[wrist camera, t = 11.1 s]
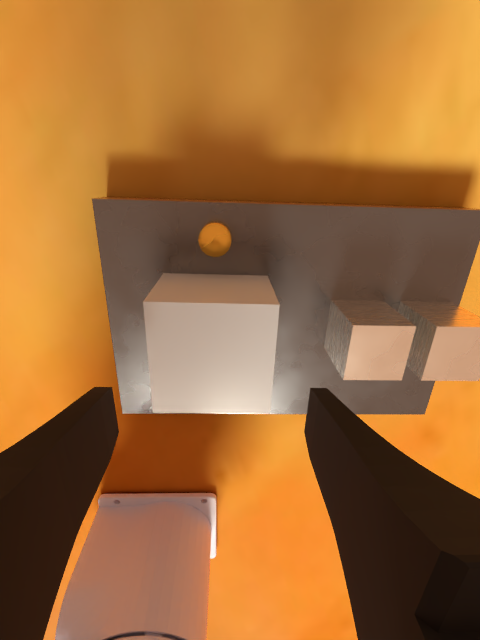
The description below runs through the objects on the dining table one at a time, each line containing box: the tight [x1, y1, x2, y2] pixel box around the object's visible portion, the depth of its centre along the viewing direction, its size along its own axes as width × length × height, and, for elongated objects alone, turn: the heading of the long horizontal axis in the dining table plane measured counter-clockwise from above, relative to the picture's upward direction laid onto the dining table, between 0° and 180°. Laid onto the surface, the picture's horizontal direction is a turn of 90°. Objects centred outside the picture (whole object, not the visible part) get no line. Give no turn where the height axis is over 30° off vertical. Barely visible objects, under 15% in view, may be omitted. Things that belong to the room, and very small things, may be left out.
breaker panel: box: [92, 197, 480, 414], centre depth 18 cm, size 20×13×6 cm, turn 88°
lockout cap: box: [143, 273, 280, 413], centre depth 16 cm, size 6×6×4 cm
